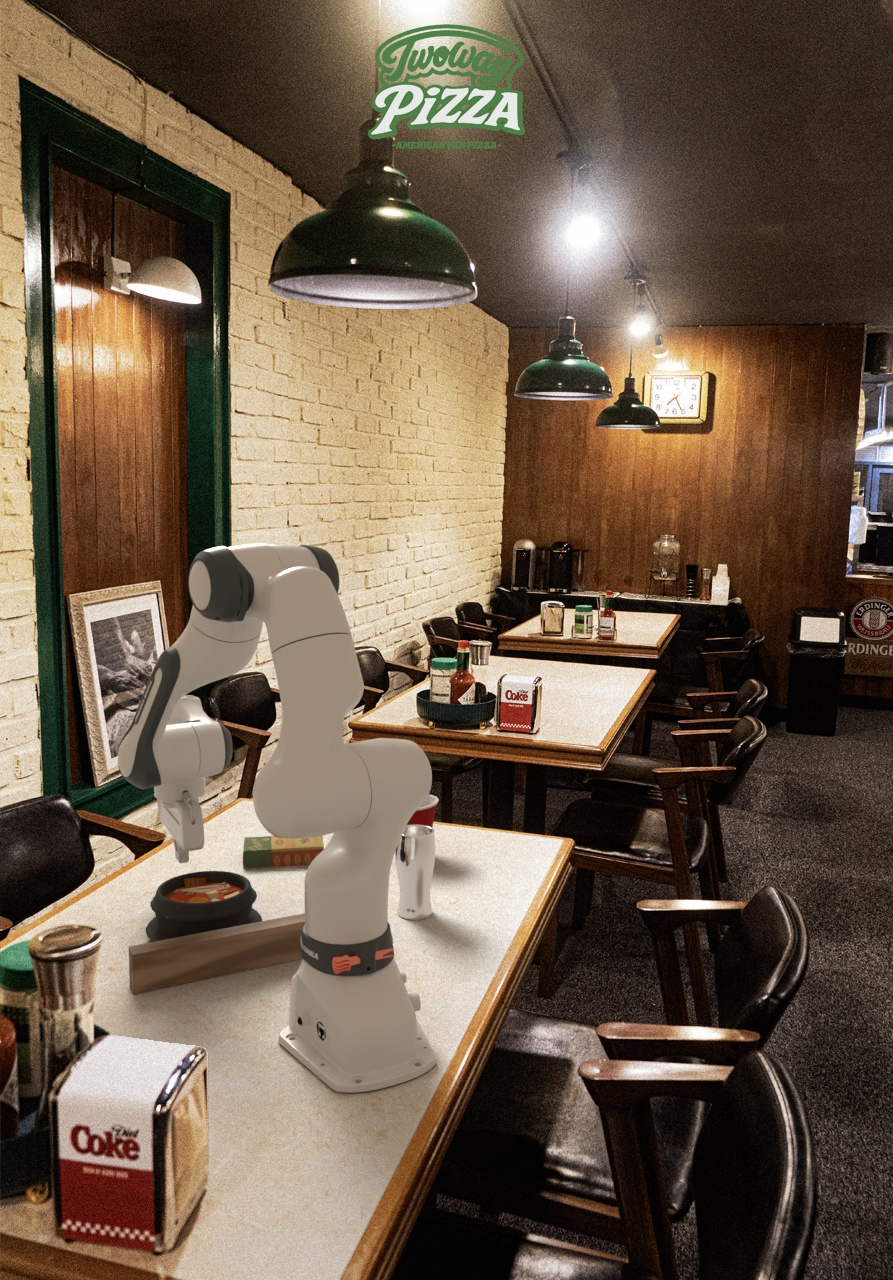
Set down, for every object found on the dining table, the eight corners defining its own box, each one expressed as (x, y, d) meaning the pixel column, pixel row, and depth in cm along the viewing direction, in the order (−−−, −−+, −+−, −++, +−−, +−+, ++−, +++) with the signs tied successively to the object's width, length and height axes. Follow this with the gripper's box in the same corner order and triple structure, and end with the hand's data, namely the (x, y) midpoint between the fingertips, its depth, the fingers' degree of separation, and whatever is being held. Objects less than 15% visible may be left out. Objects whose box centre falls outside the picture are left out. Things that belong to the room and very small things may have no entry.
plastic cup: (387, 846, 201) (387, 791, 200) (438, 847, 201) (439, 792, 200) (383, 865, 191) (383, 806, 189) (437, 866, 190) (438, 807, 189)
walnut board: (317, 955, 151) (317, 919, 150) (133, 994, 138) (132, 954, 137) (310, 947, 153) (310, 912, 153) (129, 985, 140) (128, 946, 140)
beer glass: (387, 911, 168) (387, 829, 166) (418, 901, 172) (418, 821, 170) (411, 924, 163) (412, 839, 161) (442, 914, 167) (443, 831, 165)
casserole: (154, 908, 168) (153, 862, 167) (262, 902, 172) (261, 857, 171) (136, 974, 144) (135, 921, 143) (262, 965, 147) (262, 913, 146)
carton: (324, 866, 190) (324, 845, 190) (242, 870, 188) (242, 849, 187) (322, 852, 199) (322, 832, 198) (243, 855, 196) (243, 835, 195)
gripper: (212, 797, 162) (214, 876, 163) (185, 770, 180) (187, 841, 181) (174, 801, 159) (177, 882, 160) (150, 774, 177) (152, 846, 178)
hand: (182, 860), depth 171 cm, fingers closed
